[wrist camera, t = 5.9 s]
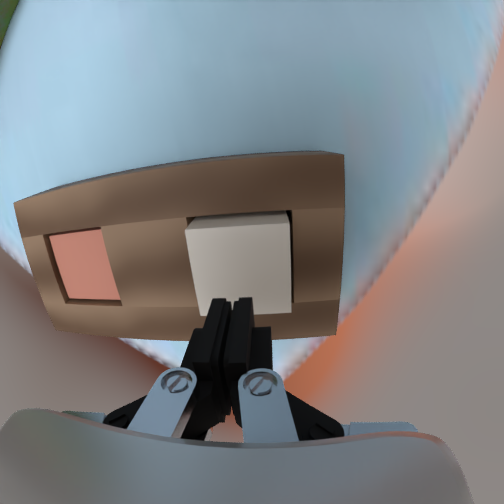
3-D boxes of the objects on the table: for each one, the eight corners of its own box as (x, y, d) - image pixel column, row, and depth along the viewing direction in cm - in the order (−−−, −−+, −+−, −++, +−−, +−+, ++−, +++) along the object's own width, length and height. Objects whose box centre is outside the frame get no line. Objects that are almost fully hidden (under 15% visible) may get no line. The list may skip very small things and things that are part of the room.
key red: (79, 218, 21) (49, 236, 17) (129, 211, 21) (101, 229, 16) (94, 273, 23) (69, 298, 19) (142, 272, 23) (120, 299, 18)
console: (55, 187, 21) (13, 202, 15) (321, 150, 19) (344, 154, 14) (85, 297, 25) (55, 330, 20) (321, 292, 24) (335, 334, 18)
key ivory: (202, 209, 18) (184, 229, 14) (283, 203, 18) (289, 223, 14) (212, 280, 20) (200, 315, 16) (286, 277, 20) (291, 312, 16)
